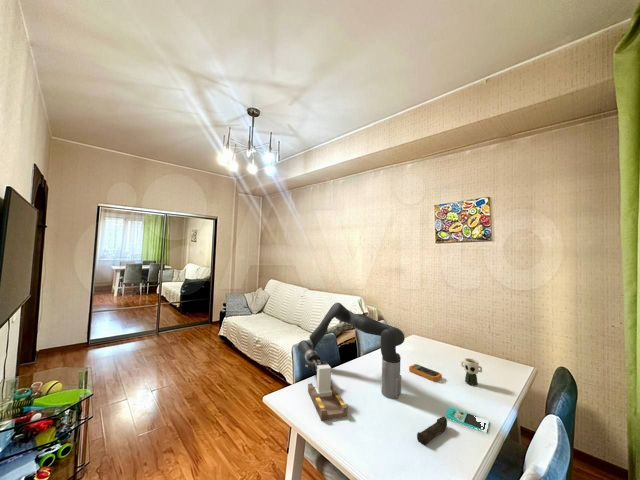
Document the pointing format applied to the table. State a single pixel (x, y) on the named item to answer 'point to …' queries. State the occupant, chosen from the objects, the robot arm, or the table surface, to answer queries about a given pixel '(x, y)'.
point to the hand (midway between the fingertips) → (321, 371)
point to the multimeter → (425, 372)
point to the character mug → (471, 370)
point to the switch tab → (323, 381)
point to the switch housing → (328, 404)
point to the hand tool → (432, 431)
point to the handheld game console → (464, 418)
